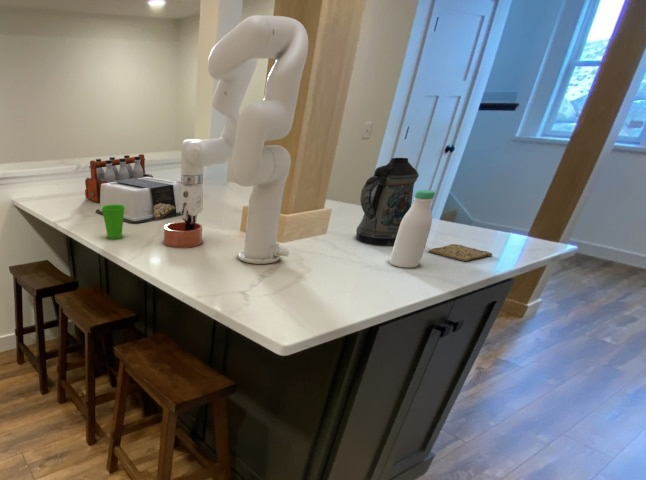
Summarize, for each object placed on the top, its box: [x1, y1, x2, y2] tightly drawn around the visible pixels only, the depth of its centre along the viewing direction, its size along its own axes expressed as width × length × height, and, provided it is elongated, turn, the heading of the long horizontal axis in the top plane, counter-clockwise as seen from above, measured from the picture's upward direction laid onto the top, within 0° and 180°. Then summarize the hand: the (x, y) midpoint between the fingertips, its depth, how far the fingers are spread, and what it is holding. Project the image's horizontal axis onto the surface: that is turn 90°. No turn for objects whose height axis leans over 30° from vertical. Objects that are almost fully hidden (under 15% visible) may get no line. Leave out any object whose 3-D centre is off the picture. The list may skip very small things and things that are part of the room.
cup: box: [101, 205, 125, 240], centre depth 166 cm, size 9×9×11 cm
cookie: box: [428, 243, 493, 262], centre depth 136 cm, size 12×12×1 cm
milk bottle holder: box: [84, 153, 154, 203], centre depth 231 cm, size 21×35×19 cm, turn 126°
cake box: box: [95, 177, 182, 224], centre depth 201 cm, size 35×33×12 cm
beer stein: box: [355, 157, 420, 247], centre depth 145 cm, size 16×19×25 cm
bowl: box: [163, 221, 203, 249], centre depth 158 cm, size 13×13×6 cm
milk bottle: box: [389, 189, 436, 268], centre depth 125 cm, size 8×8×20 cm
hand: (190, 234), depth 163 cm, fingers closed on bowl, 1 cm apart
